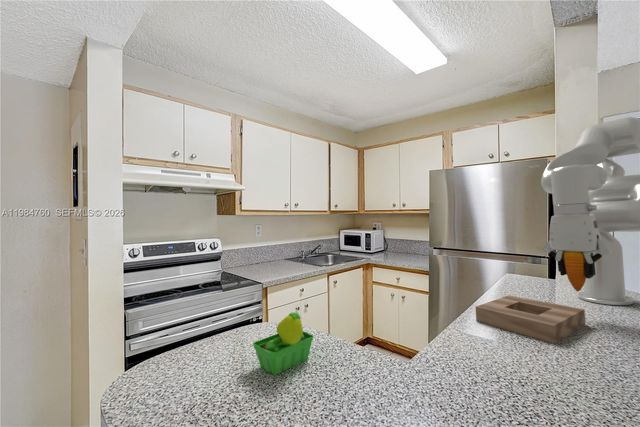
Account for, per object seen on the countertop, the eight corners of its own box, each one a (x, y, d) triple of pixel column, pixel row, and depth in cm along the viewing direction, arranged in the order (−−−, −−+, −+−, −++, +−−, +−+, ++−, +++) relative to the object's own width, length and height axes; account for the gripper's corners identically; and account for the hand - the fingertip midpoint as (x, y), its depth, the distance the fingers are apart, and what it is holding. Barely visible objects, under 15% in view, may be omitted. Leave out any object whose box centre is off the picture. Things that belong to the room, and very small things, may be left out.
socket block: (509, 308, 89) (508, 295, 89) (585, 325, 73) (584, 309, 73) (476, 321, 79) (475, 306, 79) (555, 343, 64) (554, 325, 64)
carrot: (595, 293, 77) (590, 237, 77) (576, 294, 77) (572, 238, 77) (578, 288, 82) (574, 235, 82) (561, 289, 82) (557, 237, 82)
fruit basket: (294, 348, 68) (292, 300, 68) (320, 360, 61) (317, 307, 62) (252, 367, 60) (249, 313, 60) (277, 383, 54) (274, 322, 54)
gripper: (618, 208, 74) (624, 278, 74) (541, 211, 88) (546, 269, 88) (609, 209, 70) (615, 283, 70) (529, 212, 84) (534, 274, 84)
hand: (576, 275), depth 79 cm, fingers closed on carrot, 4 cm apart
